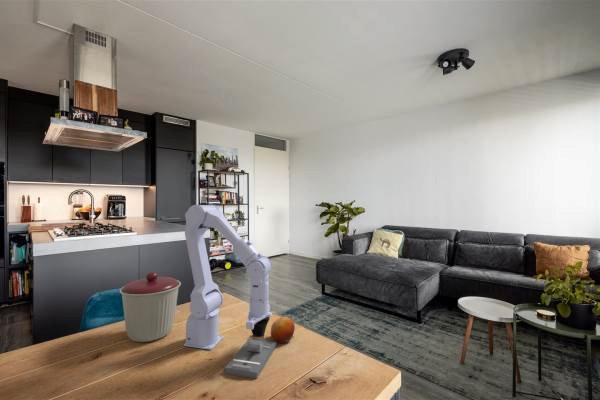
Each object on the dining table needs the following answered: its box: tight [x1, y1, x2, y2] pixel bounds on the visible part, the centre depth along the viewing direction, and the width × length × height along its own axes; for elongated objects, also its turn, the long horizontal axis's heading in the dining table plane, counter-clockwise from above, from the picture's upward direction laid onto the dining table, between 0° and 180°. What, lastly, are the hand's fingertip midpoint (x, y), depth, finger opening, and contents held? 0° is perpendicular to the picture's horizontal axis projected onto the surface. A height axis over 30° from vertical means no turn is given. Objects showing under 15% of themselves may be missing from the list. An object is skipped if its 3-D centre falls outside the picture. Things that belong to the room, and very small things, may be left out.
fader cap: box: [246, 334, 264, 352], centre depth 79 cm, size 4×2×4 cm, turn 77°
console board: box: [224, 339, 277, 380], centre depth 77 cm, size 9×16×2 cm, turn 167°
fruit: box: [270, 316, 296, 344], centre depth 89 cm, size 8×8×8 cm
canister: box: [119, 271, 182, 343], centre depth 91 cm, size 18×18×21 cm
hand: (258, 342), depth 82 cm, fingers closed
